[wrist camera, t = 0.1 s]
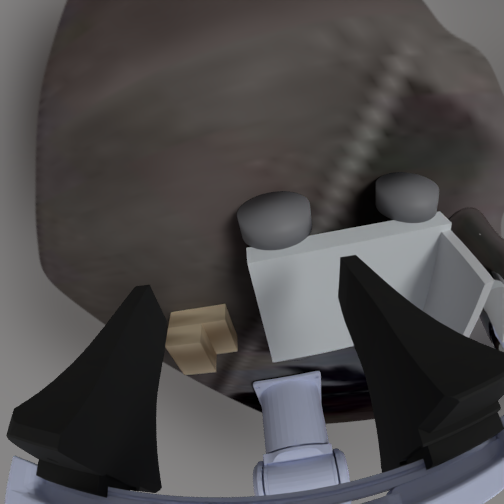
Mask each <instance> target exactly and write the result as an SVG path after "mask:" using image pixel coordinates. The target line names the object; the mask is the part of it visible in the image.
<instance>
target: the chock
mask: <svg viewBox="0 0 504 504" xmlns="http://www.w3.org/2000/svg"><path fill="white" fill-rule="evenodd" d="M165 347H166V349H167V350H168V352H169V353H170V355H171V356H172V358H173V359H174V361H175V362H176V364H177V365H178V366H179V368H180V369H181V371H182V372H183V374H184V375H191V374H202V373H211V372H216V356H217V354H221V353H228V352H236V351H238V346H237V334H236V331H235V329H234V326H233V323H232V321H231V318H230V315H229V312H228V310H227V307H226V304H221V305H215V306H209V307H202V308H196V309H189V310H183V311H176V312H171V315H170V320H169V326H168V332H167V338H166V344H165Z"/></svg>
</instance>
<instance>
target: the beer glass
mask: <svg viewBox="0 0 504 504" xmlns="http://www.w3.org/2000/svg"><path fill="white" fill-rule="evenodd" d="M449 221H450V222H451V223H452V225H451V231H452V232H453V233H454V234H455V235H456V236H457V237H458V238H459V239H460V240H461V241H462V243H463V244H464V245H465V246H466V247H467V248H468V249H469V250H470V252H471V253H472V254H473V255H474V256H475V257H476V258H477V260H478V261H479V262H480V263H481V264H482V266H483V267H484V268H485V269H486V270H487V272H488V273H489V274H490V275H491V276H492V278H493V279H494V283H493V286H492V288H491V290H490V293H489V295H488V298H487V300H486V302H485V305H484V307H483V309H482V311H481V314H480V316H479V317H480V319H481V322H482V324H483V326H484V328H485V330H486V333H487V335H488V337H489V339H490V341H491V343H492V344H493V346H494V348H495V349H497V350H500V351H502V352H504V239H503V238H502V237H501V236H500V235H499V234H498V233H497V232H496V231H495V230H494V229H493V227H492V226H491V225H490V223H489V222H488V220H487V219H486V217H485V216H484V215H483V214H482V213H481V212H480V211H479V210H478V209H476V208H465V209H462V210H460V211H458V212H457V213H455V214H454V215H453V216H452V217H451V218H450V219H449Z"/></svg>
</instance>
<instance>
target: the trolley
mask: <svg viewBox="0 0 504 504" xmlns="http://www.w3.org/2000/svg"><path fill="white" fill-rule="evenodd" d="M438 197H439V188H438V186H437V185H436V183H434V182H433V181H432V180H430V179H428V178H426V177H424V176H421V175H417V174H413V173H403V172H398V173H390V174H386V175H383V176H381V177H380V178H378V179H377V181H376V208H377V209H378V211H379V212H380V213H381V214H383V215H384V216H386V217H388V218H390V219H392V220H391V221H386V222H380V223H375V224H370V225H364V226H359V227H353V228H348V229H343V230H337V231H332V232H327V233H321V234H316V235H311V236H309V234H310V233H311V230H312V220H311V210H310V203H309V201H308V199H307V198H306V197H304V196H303V195H301V194H298V193H294V192H286V191H280V192H271V193H266V194H262V195H259V196H256V197H254V198H252V199H250V200H248V201H246V202H245V203H244V204H243V205H242V206H241V207H240V208H239V210H238V212H237V218H238V222H239V226H240V230H241V234H242V238H243V240H244V242H245V243H246V244H247V245H249V246H251V247H248V248H246V252H247V264H248V268H249V272H250V276H251V280H252V284H253V287H254V291H255V295H256V299H257V303H258V307H259V310H260V314H261V318H262V322H263V326H264V330H265V333H266V337H267V341H268V345H269V349H270V352H271V356H272V360H273V362H278V361H284V360H287V361H299V360H303V359H305V358H307V357H309V356H311V355H315V354H320V353H325V352H329V351H334V350H338V349H343V348H347V347H351V346H354V344H353V341H352V339H351V336H350V334H349V331H348V329H347V326H346V324H345V321H344V318H343V314H342V311H341V307H340V303H339V299H338V289H339V273H340V257H345V256H351V255H356V256H358V257H359V258H360V259H361V260H362V261H363V262H364V263H365V264H367V265H368V266H369V267H370V268H371V269H372V270H373V271H374V272H375V273H377V274H378V275H379V276H380V277H381V278H382V279H383V280H384V281H385V282H387V283H388V284H389V285H390V286H391V287H392V288H394V289H395V290H396V291H397V292H398V293H400V294H401V295H402V296H403V297H405V298H406V299H407V300H409V301H410V302H411V303H412V304H414V305H415V306H416V307H418V308H419V309H421V310H422V311H424V312H425V313H427V314H428V315H430V316H431V317H433V318H434V319H436V320H437V321H439V322H441V323H442V324H444V325H446V326H447V327H449V328H451V329H453V330H455V331H456V332H458V333H460V334H462V335H464V336H466V337H468V338H469V336H470V334H471V332H472V330H473V328H474V326H475V324H476V322H477V320H478V318H479V316H480V314H481V311H482V309H483V307H484V305H485V302H486V300H487V298H488V295H489V293H490V290H491V288H492V286H493V283H494V279H493V278H492V276H491V275H490V274H489V273H488V272H487V270H486V269H485V268H484V267H483V266H482V264H481V263H480V262H479V261H478V260H477V258H476V257H475V256H474V255H473V254H472V253H471V252H470V250H469V249H468V248H467V247H466V246H465V245H464V244H463V243H462V241H461V240H460V239H459V238H458V237H457V236H456V235H455V234H454V233H453V232H452V231H451V225H452V223H451V222H450V221H449V220H448V219H447V218H446V217H445V216H444V215H443V214H442V213H441V212H437V206H438Z"/></svg>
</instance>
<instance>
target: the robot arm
mask: <svg viewBox="0 0 504 504" xmlns="http://www.w3.org/2000/svg"><path fill="white" fill-rule="evenodd" d="M338 299H339V303H340V307H341V311H342V314H343V318H344V321H345V324H346V326H347V329H348V331H349V334H350V336H351V339H352V341H353V344H354V346H355V349H356V351H357V354H358V357H359V359H360V362H361V364H362V367H363V370H364V373H365V376H366V380H367V384H368V389H369V393H370V397H371V402H372V407H373V411H374V416H375V422H376V428H377V434H378V441H379V450H380V458H381V469H382V473H380V474H377V475H373V476H370V477H366V478H362V479H359V480H355V481H351V482H350V478H349V472H348V467H347V462H346V458H345V456H344V453H343V452H342V451H340V450H339V449H333V451H332V446H331V443H329V441H328V435H327V430H326V425H325V420H324V415H323V410H322V405H321V373H320V371H313V372H308V373H303V374H298V375H292V376H287V377H281V378H275V379H269V380H262V381H256V382H254V383H253V387H254V390H255V392H256V394H257V397H258V399H259V401H260V404H261V406H262V413H263V424H264V435H265V447H266V454H263V461H260V462H258V463H257V465H256V466H255V467H254V471H253V484H254V493H255V496H250V497H221V498H220V497H183V496H169V495H159V494H150V493H142V492H135V491H143V492H144V491H145V492H152V493H156V492H157V491H159V490H160V489H161V488H162V486H161V480H160V473H159V465H158V454H157V441H156V403H157V392H158V386H159V379H160V373H161V367H162V362H163V356H164V350H165V343H166V322H167V320H166V318H165V316H164V314H163V312H162V310H161V308H160V306H159V304H158V302H157V300H156V298H155V295H154V293H153V291H152V289H151V287H150V285H144V286H136V287H135V288H134V289H133V290H132V291H131V293H130V294H129V295H128V297H127V298H126V299H125V300H124V302H123V303H122V304H121V306H120V307H119V308H118V310H117V311H116V312H115V314H114V315H113V316H112V317H111V319H110V320H109V321H108V323H107V324H106V325H105V327H104V328H103V329H102V330H101V331H100V333H99V334H98V335H97V336H96V338H95V339H94V340H93V341H92V342H91V344H90V345H89V346H88V347H87V348H86V349H85V351H84V352H83V353H82V354H81V355H80V356H79V357H78V358H77V359H76V360H75V361H74V362H73V363H72V364H71V365H70V366H69V367H68V368H67V369H66V370H65V371H64V372H63V373H61V374H60V375H59V376H58V377H57V378H56V379H55V380H54V381H53V382H51V383H50V384H49V385H48V386H46V387H45V388H44V389H43V390H42V391H40V392H39V393H37V394H36V395H34V396H33V397H32V398H30V399H29V400H27V401H25V402H24V403H22V404H21V405H20V406H18V407H16V408H15V409H14V411H13V414H12V418H11V421H10V424H9V428H8V432H7V438H8V439H9V440H10V441H11V442H12V443H14V444H15V445H17V446H18V447H19V448H21V449H23V450H24V451H26V452H27V453H29V454H31V455H32V456H34V457H36V458H38V459H39V462H38V465H37V464H35V463H32V462H30V461H28V460H25V459H22V458H20V457H17V456H13V459H12V464H11V468H10V473H9V479H8V484H7V490H6V497H5V504H351V501H353V500H358V499H361V498H365V497H368V496H372V495H375V494H379V493H382V492H386V491H389V490H390V491H389V492H388V493H387V495H386V496H384V497H381V498H378V499H375V500H372V501H368V502H365V503H362V504H484V503H485V502H487V501H488V500H490V499H491V498H493V497H494V496H495V495H497V494H498V493H499V492H501V491H502V490H503V489H504V415H503V416H502V417H501V418H500V417H499V415H498V413H497V412H498V411H499V410H500V408H501V407H500V404H499V402H498V400H499V399H500V398H501V397H502V396H503V395H504V352H502V351H500V350H497V349H494V348H491V347H489V346H486V345H484V344H481V343H479V342H477V341H475V340H472V339H470V338H468V337H466V336H464V335H462V334H460V333H458V332H456V331H455V330H453V329H451V328H449V327H447V326H446V325H444V324H442V323H441V322H439V321H437V320H436V319H434V318H433V317H431V316H430V315H428V314H427V313H425V312H424V311H422V310H421V309H419V308H418V307H416V306H415V305H414V304H412V303H411V302H410V301H409V300H407V299H406V298H405V297H403V296H402V295H401V294H400V293H398V292H397V291H396V290H395V289H394V288H392V287H391V286H390V285H389V284H388V283H387V282H385V281H384V280H383V279H382V278H381V277H380V276H379V275H378V274H377V273H375V272H374V271H373V270H372V269H371V268H370V267H369V266H368V265H367V264H365V263H364V262H363V261H362V260H361V259H360V258H359V257H358V256H356V255H351V256H345V257H340V273H339V289H338ZM130 490H133V491H130Z"/></svg>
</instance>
